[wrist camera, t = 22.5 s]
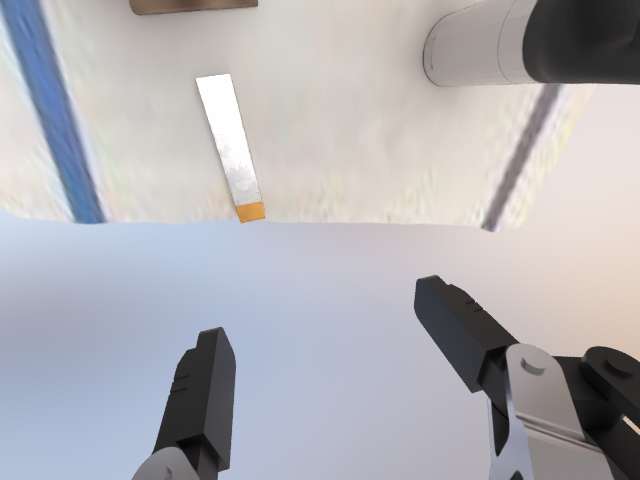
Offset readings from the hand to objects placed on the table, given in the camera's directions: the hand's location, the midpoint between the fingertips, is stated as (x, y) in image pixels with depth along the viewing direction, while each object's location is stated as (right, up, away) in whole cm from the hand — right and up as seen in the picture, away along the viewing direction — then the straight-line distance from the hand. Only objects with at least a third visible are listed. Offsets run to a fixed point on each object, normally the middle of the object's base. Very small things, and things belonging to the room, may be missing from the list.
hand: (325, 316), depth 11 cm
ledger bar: (-13, +16, +30) cm, 36 cm away
